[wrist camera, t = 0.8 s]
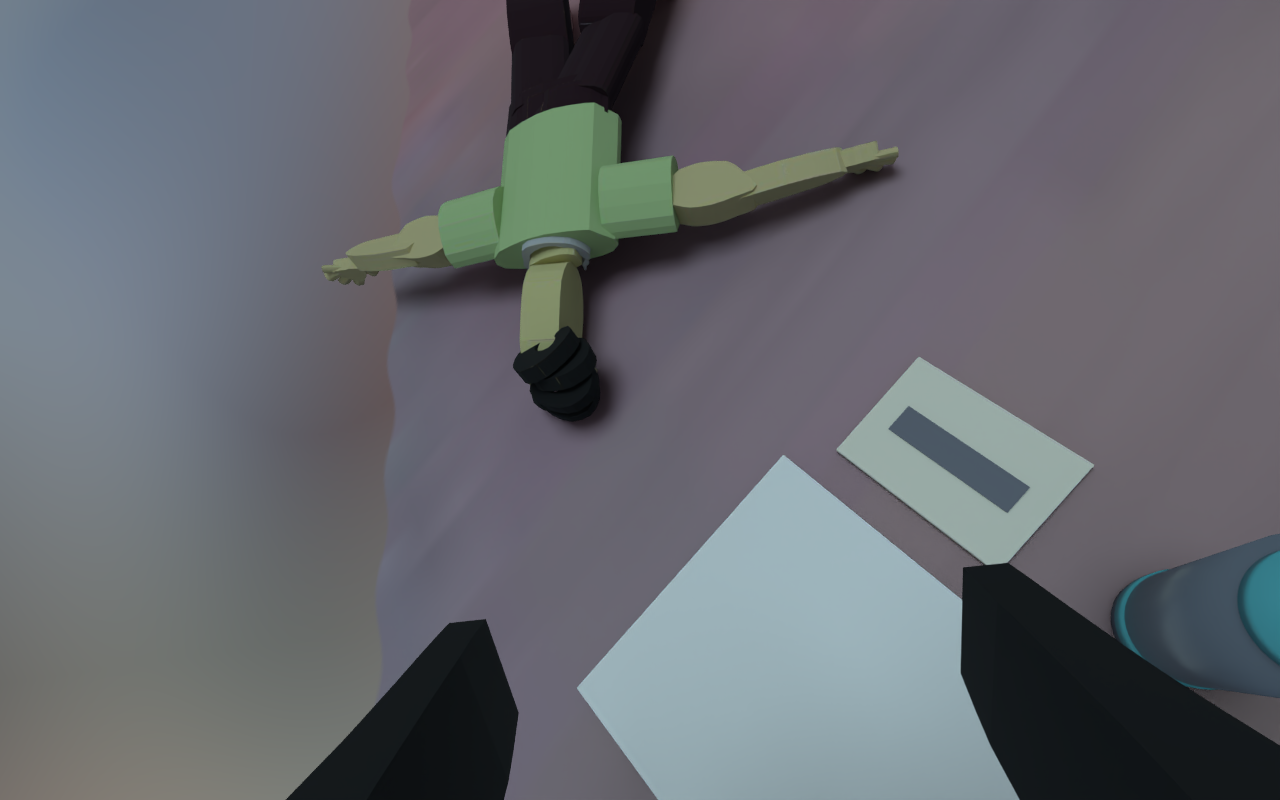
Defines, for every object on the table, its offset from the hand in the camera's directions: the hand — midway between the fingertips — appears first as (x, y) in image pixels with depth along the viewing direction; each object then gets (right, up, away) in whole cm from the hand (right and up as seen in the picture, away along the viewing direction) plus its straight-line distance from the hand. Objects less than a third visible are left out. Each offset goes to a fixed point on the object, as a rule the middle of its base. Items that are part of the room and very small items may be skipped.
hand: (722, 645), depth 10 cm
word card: (+11, +2, +14) cm, 18 cm away
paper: (+5, -8, +13) cm, 16 cm away
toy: (-3, +16, +27) cm, 32 cm away
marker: (+15, -3, +10) cm, 19 cm away
